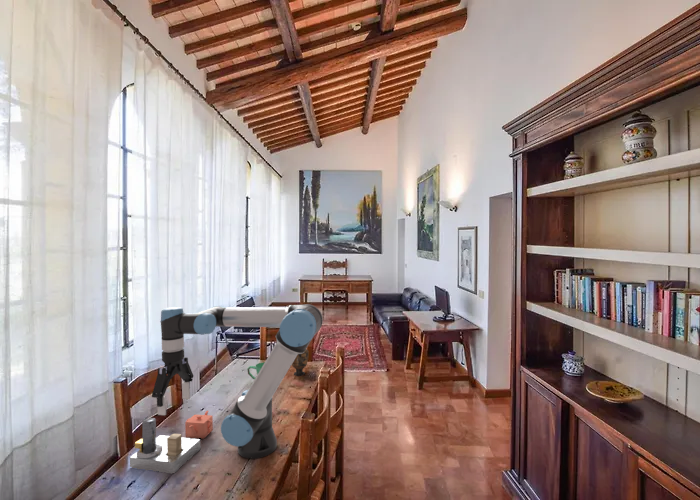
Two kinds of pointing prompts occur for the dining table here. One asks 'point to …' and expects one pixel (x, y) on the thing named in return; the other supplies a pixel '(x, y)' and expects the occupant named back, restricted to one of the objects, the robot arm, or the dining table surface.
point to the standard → (148, 440)
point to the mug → (257, 367)
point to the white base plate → (167, 462)
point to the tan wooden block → (174, 445)
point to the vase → (300, 363)
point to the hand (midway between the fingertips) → (174, 406)
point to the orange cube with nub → (199, 426)
